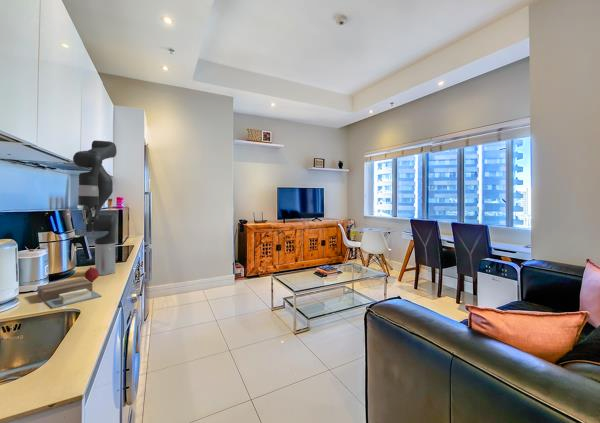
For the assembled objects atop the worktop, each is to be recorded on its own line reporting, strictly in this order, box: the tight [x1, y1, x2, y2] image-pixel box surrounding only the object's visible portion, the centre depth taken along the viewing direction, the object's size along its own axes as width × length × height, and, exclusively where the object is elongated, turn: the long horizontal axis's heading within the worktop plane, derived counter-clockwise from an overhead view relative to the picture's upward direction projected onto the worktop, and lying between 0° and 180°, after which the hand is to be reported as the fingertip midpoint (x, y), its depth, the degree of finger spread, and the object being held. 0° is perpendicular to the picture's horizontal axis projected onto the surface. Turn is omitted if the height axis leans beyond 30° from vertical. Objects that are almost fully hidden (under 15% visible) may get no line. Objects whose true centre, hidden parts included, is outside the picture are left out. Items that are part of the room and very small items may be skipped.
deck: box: [37, 277, 93, 303], centre depth 118 cm, size 12×16×4 cm
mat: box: [45, 290, 102, 309], centre depth 112 cm, size 10×16×1 cm, turn 145°
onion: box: [84, 265, 100, 283], centre depth 135 cm, size 6×6×8 cm
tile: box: [59, 289, 91, 304], centre depth 111 cm, size 6×9×2 cm, turn 145°
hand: (88, 231), depth 125 cm, fingers closed
